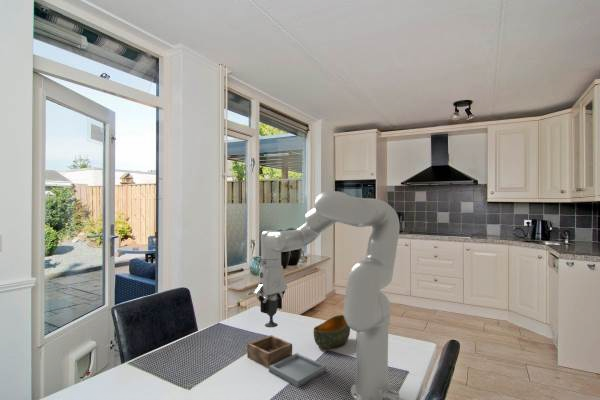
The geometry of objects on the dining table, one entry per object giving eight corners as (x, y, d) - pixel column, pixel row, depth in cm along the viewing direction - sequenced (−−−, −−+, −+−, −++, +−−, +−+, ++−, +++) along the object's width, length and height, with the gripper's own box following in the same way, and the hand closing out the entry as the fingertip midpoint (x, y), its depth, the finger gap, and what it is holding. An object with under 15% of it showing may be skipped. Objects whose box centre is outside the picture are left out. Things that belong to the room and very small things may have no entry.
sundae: (277, 328, 120) (277, 287, 121) (260, 327, 121) (260, 287, 122) (282, 322, 126) (282, 283, 127) (265, 321, 128) (265, 283, 128)
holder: (292, 357, 124) (292, 343, 124) (268, 368, 116) (268, 354, 116) (271, 347, 133) (271, 335, 133) (247, 357, 124) (247, 343, 124)
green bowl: (363, 347, 133) (362, 322, 133) (316, 353, 128) (315, 327, 128) (350, 335, 146) (350, 313, 146) (307, 340, 141) (307, 316, 141)
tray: (325, 371, 114) (325, 365, 114) (298, 387, 104) (298, 381, 104) (296, 358, 123) (296, 353, 123) (268, 371, 113) (268, 366, 113)
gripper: (259, 267, 116) (260, 318, 115) (294, 261, 128) (294, 307, 128) (246, 264, 121) (246, 313, 120) (280, 259, 134) (281, 303, 133)
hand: (271, 309), depth 124 cm, fingers closed on sundae, 6 cm apart
